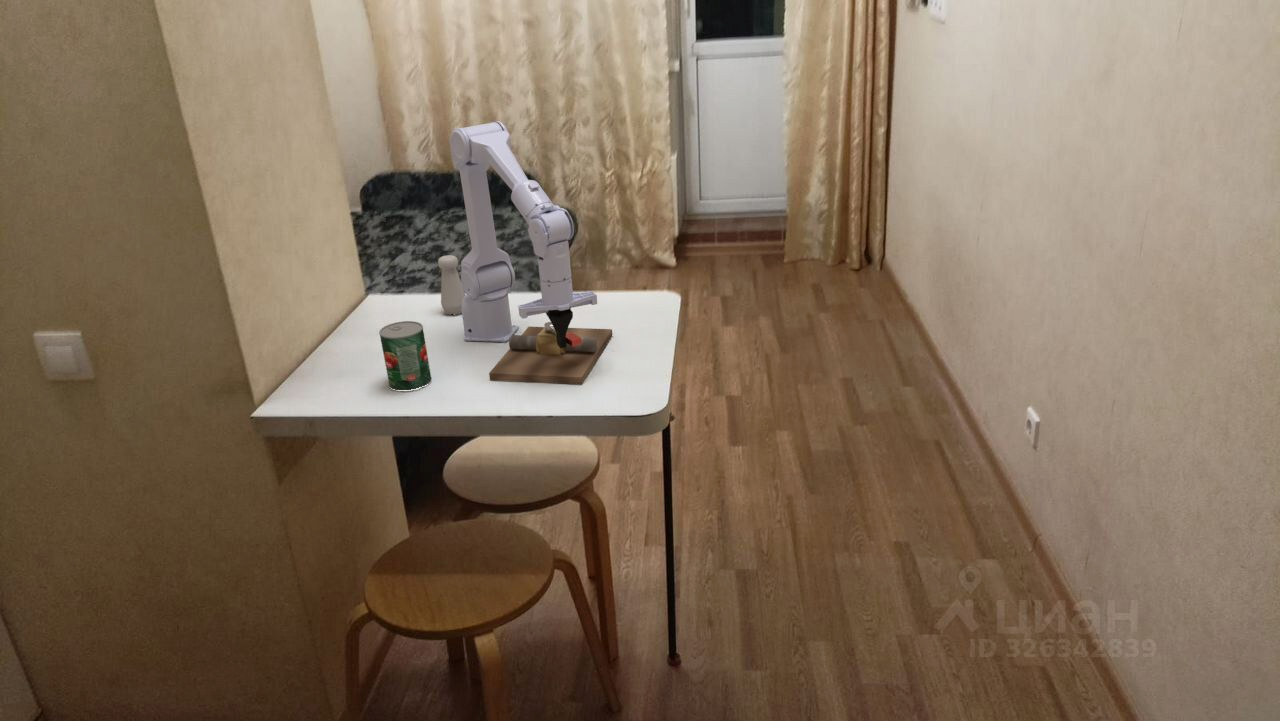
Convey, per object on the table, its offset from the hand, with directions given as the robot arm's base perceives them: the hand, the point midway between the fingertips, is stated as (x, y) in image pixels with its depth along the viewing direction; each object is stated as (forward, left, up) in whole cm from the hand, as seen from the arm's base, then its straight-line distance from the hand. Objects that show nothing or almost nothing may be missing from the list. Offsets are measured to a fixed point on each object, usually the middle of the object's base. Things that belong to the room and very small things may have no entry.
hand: (562, 346), depth 173 cm
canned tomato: (-28, -8, -6) cm, 30 cm away
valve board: (-4, +6, -5) cm, 9 cm away
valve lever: (-1, +3, +1) cm, 3 cm away
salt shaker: (-34, +28, -5) cm, 44 cm away
